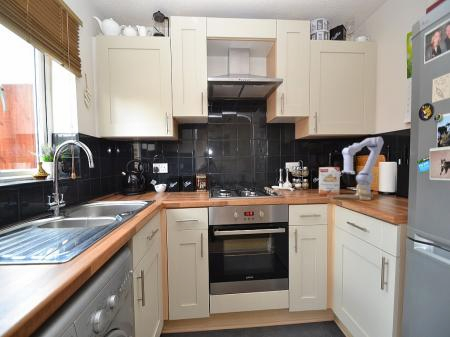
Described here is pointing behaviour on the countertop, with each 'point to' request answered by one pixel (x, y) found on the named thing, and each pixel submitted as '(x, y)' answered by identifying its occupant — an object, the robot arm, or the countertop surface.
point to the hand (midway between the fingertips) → (348, 183)
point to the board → (344, 197)
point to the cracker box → (329, 180)
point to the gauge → (363, 193)
